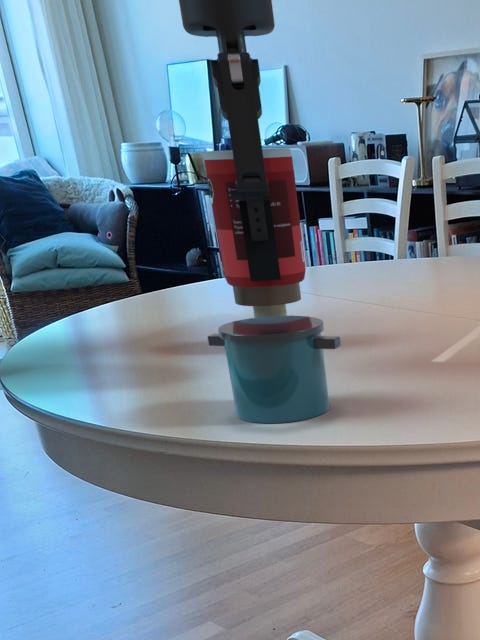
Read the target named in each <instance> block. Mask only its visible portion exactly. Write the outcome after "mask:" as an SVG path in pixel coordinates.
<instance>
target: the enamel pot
mask: <svg viewBox="0 0 480 640" xmlns="http://www.w3.org/2000/svg"><path fill="white" fill-rule="evenodd" d="M324 330H325V323H324V320H323V319H320V318H318V317H313V316H307V315H306V316H305V315H287V316H269V317H258V318H254V317H252V318H244V319H239V320H235V321H230V322H227V323H225V324H222V325H220V326H219V327H218V329H217V332H218V333H212V334H210V335H207V341H208V346H209V347H224V350H225V351H224V352H225V357H226V362H227V363H226V364H227V369H228V374H229V380H230V386H231V393H232V399H233V403H234V409H235V415H236V417H237V418H238V419H240V420H241V421H246V422H249V423H257V424H282V423H283V424H284V423H292V422H293V423H294V422H300V421H305V420H309V419H312V418H313V419H314V418H316V417H319V416H321V415H323V414H324V413H325V414H326V412H328V411H329V409H330V408H331V407H330V398H329V390H328V379H327V374H326V363H325V354H324V350H336V349H339V348H340V347H341V346H342V345H341V337H340V336H339V335H338V336H335V335H322V333H323V332H324Z"/></svg>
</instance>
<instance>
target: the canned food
mask: <svg viewBox="0 0 480 640" xmlns="http://www.w3.org/2000/svg"><path fill="white" fill-rule="evenodd" d="M262 151H263V159H264V166H265V173H266V179H267V180H268V182H269V187H268V188H269V193H270V194H269V195H268V199H270V202H271V209H272V216H273V224H274V231H275V238H276V246H277V253H278V260H279V268H280V275H281V280H266V281H251V280H250V273H249V267H248V260H247V254H246V247H245V240H244V234H243V227H242V221H241V214H240V208H239V201H241V200H237V201H231V197H230V191H229V190H237V188H236V183H235V182H236V180H237V178H236V171H235V165H234V158H233V151H232V149H230V150H229V149H228V150H207V151H204V152H203V155H204V157H203V158H204V159H203V160H204V167H205V173H206V174H205V175H206V179H207V185H208V192H209V197H210V204H211V208H212V215H213V221H214V226H215V232H216V238H217V244H218V250H219V256H220V263H221V268H222V274H223V277H224V278H225V281H226V283H227V284H228V285H229V286H231V287H233V286H235V287H273V286H283V285H290V284H295V283H299V284H300V283H302V282H303V281H304V280H305V276H306V270H307V268H306V260H305V253H304V252H305V251H304V243H303V236H302V227H301V219H300V218H301V217H300V209H299V202H298V194H297V192H298V191H297V185H296V176H295V175H296V174H295V169H294V161H293V156H292V151H291V148H289V147H286V148H285V147H283V148H262Z"/></svg>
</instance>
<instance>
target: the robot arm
mask: <svg viewBox="0 0 480 640" xmlns="http://www.w3.org/2000/svg"><path fill="white" fill-rule="evenodd" d="M178 5H179V10H180V16H181V21H182V22H181V23H182V27H183V29H184V31H185V32H186V33H187V34H189V35H191V36H195V37H204V38H209V37H210V38H213V37H214V38H216V40H217V46H218V47H217V48H218V53H217V58H216V59H210V60H209V61H210V69H211V74H212V79H213V83H214V86H215V87H216V88H217V94H218V95H217V96H218V102H219V107H220V113H221V116H222V117H223V118H224V120H226V121H227V124H228V131H229V138H230V144H231V150H232V151H233V158H234V165H235V171H236V178H237V180H236V182H235V183H236V188H237V190H229V191H230V197H231V201H237V200H241V201H239V208H240V214H241V221H242V227H243V234H244V240H245V247H246V254H247V260H248V267H249V273H250V280H251V281H266V280H281V275H280V268H279V260H278V253H277V246H276V238H275V231H274V224H273V216H272V209H271V202H270V199H268V195H269V194H270V193H269V188H268V187H269V182H268V180H267V179H266V173H265V166H264V159H263V151H262V149H263V145H262V144H263V143H262V139H261V132H260V130H261V129H260V123H259V119H260V118H261V117H262V115H263V107H262V99H261V93H260V92H261V91H260V85H261V83H262V82H261V71H260V65H259V64H260V63H259V58H252V57H251V54H250V52H248V51H247V44H246V37H259V36H260V37H261V36H266V35H269V34H271V33H272V32H273V31H274V29H275V16H274V9H273V0H178Z"/></svg>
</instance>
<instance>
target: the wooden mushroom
mask: <svg viewBox="0 0 480 640" xmlns="http://www.w3.org/2000/svg"><path fill="white" fill-rule="evenodd" d="M232 292H233V298H234V303H235V304H236V305H237V306H243V307H252V311H253V318H258V317H269V316H288V312H287V305H288V304H293V303H294V304H295V303H297V302H299V301H301V300H302V293H301V285H300V282H299V283H295V284H290V285H283V286H273V287H235V286H232Z"/></svg>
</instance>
